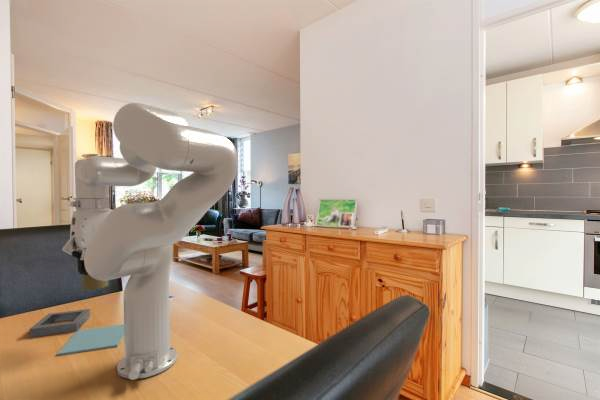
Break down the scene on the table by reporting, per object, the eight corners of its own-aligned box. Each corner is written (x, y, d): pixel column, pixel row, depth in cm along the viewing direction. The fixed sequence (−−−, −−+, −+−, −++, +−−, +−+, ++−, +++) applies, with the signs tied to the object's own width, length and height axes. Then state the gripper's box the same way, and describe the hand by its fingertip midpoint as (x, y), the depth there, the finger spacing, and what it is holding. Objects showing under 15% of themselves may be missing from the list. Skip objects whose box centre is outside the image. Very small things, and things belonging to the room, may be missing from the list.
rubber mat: (117, 346, 77) (117, 344, 77) (57, 355, 73) (57, 353, 73) (128, 325, 89) (128, 323, 89) (77, 332, 85) (77, 330, 85)
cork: (95, 290, 77) (93, 249, 77) (76, 289, 78) (74, 248, 78) (113, 283, 83) (112, 245, 83) (95, 282, 84) (94, 244, 84)
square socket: (76, 331, 86) (76, 323, 86) (29, 337, 82) (29, 329, 82) (90, 316, 96) (89, 308, 96) (48, 321, 93) (48, 313, 92)
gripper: (64, 206, 71) (66, 281, 71) (131, 204, 86) (133, 265, 87) (48, 206, 74) (50, 278, 75) (115, 203, 89) (117, 263, 90)
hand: (95, 270), depth 81 cm, fingers closed on cork, 4 cm apart
